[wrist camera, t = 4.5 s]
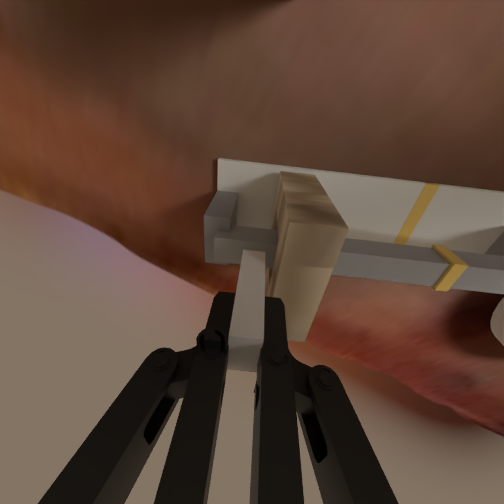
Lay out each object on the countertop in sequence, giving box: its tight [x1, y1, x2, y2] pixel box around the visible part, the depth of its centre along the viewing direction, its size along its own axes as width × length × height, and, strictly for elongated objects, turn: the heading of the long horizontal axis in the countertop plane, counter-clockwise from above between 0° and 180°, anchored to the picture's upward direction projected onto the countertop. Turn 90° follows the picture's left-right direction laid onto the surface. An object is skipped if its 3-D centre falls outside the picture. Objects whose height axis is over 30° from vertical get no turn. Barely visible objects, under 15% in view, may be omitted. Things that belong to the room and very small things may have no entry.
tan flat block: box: [265, 171, 349, 342], centre depth 18 cm, size 3×10×10 cm, turn 174°
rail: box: [204, 158, 504, 294], centre depth 20 cm, size 30×10×7 cm, turn 84°
